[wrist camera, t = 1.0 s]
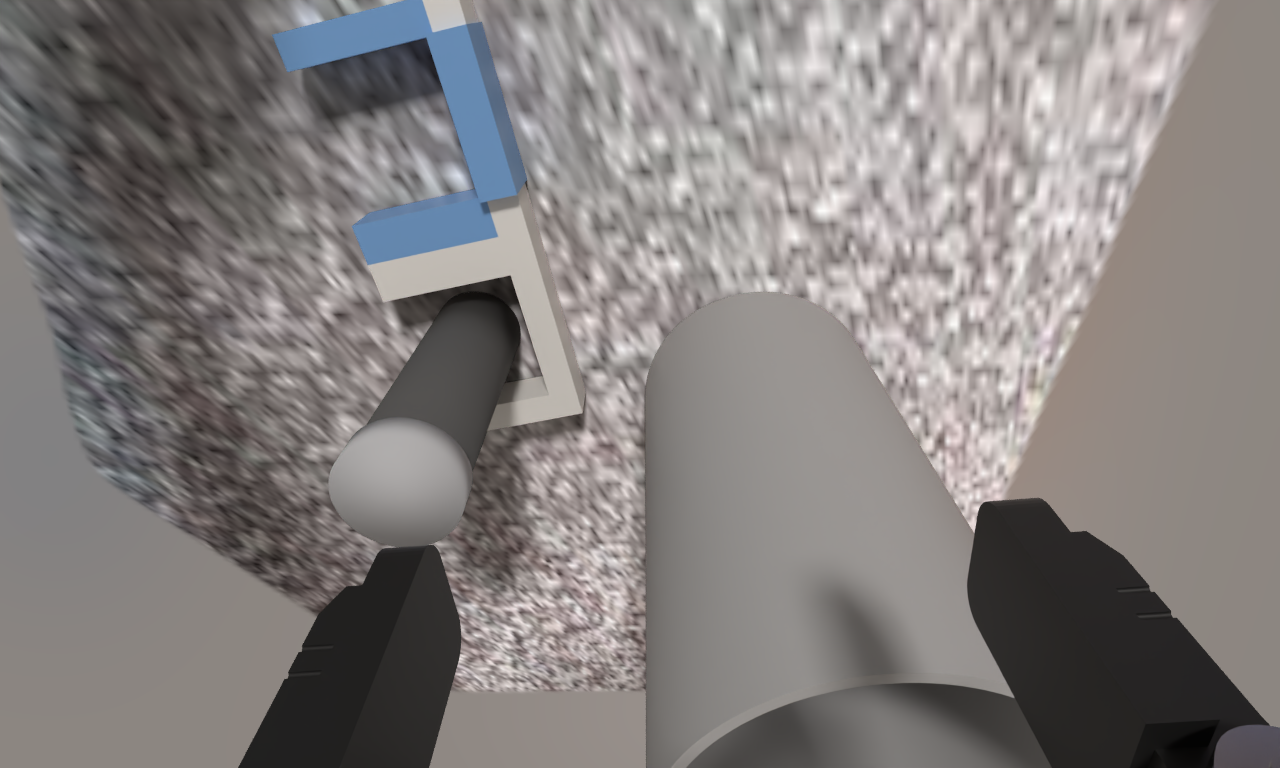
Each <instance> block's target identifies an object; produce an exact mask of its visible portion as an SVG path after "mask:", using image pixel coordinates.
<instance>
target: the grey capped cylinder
mask: <svg viewBox="0 0 1280 768" xmlns="http://www.w3.org/2000/svg"><path fill="white" fill-rule="evenodd" d="M519 342H520V326H519V322H518V319H517V317H516V315H515V314H514V312H513V311H512V309H511V308H510V307H509V306H508V305H507V304H506V303H505V302H503V301H502V300H500V299H499V298H497V297H495V296H493V295H490V294H487V293H483V292H466V293H462V294H459V295H457V296H455V297H453V298H452V299H450V300H449V301H448V302H447V303H446V304H445V305H444V307H443V308H442V310H441V311H440V313H439V314H438V316H437V317H436V319H435V320H434V322H433V323H432V325H431V327H430V328H429V330H428V331H427V333H426V334H425V336H424V337H423V339H422V340H421V342H420V343H419V345H418V346H417V348H416V350H415V351H414V353H413V354H412V356H411V357H410V359H409V360H408V362H407V363H406V365H405V366H404V368H403V370H402V371H401V373H400V374H399V376H398V377H397V379H396V380H395V382H394V383H393V385H392V386H391V388H390V389H389V391H388V393H387V394H386V396H385V397H384V399H383V400H382V402H381V403H380V405H379V406H378V408H377V409H376V411H375V412H374V414H373V416H372V417H371V419H370V420H369V422H368V423H367V425H366V426H364V427H362V428H361V429H360V430H359V431H357V432H356V433H355V434H354V435H353V437H352V438H351V439H350V441H349V442H348V444H347V445H346V447H345V448H344V450H343V451H342V453H341V454H340V456H339V457H338V459H337V460H336V462H335V463H334V465H333V467H332V469H331V472H330V476H329V484H328V487H329V494H330V497H331V501H332V503H333V505H334V507H335V509H336V511H337V512H338V514H339V515H340V516H341V518H342V519H343V520H344V521H345V522H346V523H347V524H348V525H349V526H350V527H352V528H353V529H354V530H355V531H357V532H358V533H360V534H361V535H363V536H365V537H367V538H369V539H371V540H373V541H376V542H378V543H382V544H385V545H389V546H395V547H410V546H423V545H429V544H432V543H435V542H437V541H439V540H441V539H443V538H444V537H446V536H447V535H449V534H450V533H451V532H452V531H453V530H454V529H455V527H456V526H457V525H458V523H459V521H460V520H461V517H462V514H463V512H464V509H465V506H466V503H467V500H468V497H469V495H470V492H471V489H472V483H473V473H472V471H473V469H474V466H475V463H476V460H477V458H478V455H479V452H480V449H481V447H482V444H483V441H484V438H485V436H486V433H487V430H488V427H489V425H490V422H491V419H492V416H493V414H494V411H495V408H496V405H497V403H498V400H499V397H500V394H501V392H502V389H503V386H504V383H505V381H506V378H507V375H508V372H509V370H510V367H511V364H512V361H513V359H514V356H515V353H516V350H517V348H518V345H519Z"/></svg>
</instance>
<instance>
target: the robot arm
mask: <svg viewBox="0 0 1280 768" xmlns="http://www.w3.org/2000/svg"><path fill="white" fill-rule="evenodd" d="M967 594H968V601H969V606H970V610H971V613H972V616H973V619H974V621H975V623H976V626H977V628H978V629H979V631H980V633H981V635H982V637H983V639H984V641H985V643H986V645H987V646H988V648H989V650H990V652H991V654H992V656H993V658H994V660H995V662H996V663H997V665H998V667H999V669H1000V671H1001V673H1002V675H1003V677H1004V679H1005V680H1006V682H1007V684H1008V686H1009V688H1010V690H1011V692H1012V694H1013V696H1014V697H1015V699H1016V701H1017V703H1018V705H1019V707H1020V709H1021V711H1022V713H1023V714H1024V716H1025V718H1026V720H1027V722H1028V724H1029V726H1030V728H1031V730H1032V731H1033V733H1034V735H1035V737H1036V739H1037V741H1038V743H1039V745H1040V747H1041V748H1042V750H1043V752H1044V754H1045V756H1046V758H1047V760H1048V762H1049V764H1050V765H1051V767H1052V768H1280V728H1278V727H1274V726H1270V725H1269V724H1268V723H1267V722H1266V721H1265V720H1264V719H1263V718H1262V717H1261V715H1260V714H1259V713H1258V712H1257V711H1256V710H1255V708H1254V707H1253V706H1252V705H1251V704H1250V703H1249V702H1248V700H1247V699H1246V698H1245V697H1244V696H1243V695H1242V693H1241V692H1240V691H1239V690H1238V689H1237V687H1236V686H1235V685H1234V684H1233V683H1232V682H1231V680H1230V679H1229V678H1228V677H1227V676H1226V675H1225V673H1224V672H1223V671H1222V670H1221V669H1220V668H1219V666H1218V665H1217V664H1216V663H1215V662H1214V661H1213V659H1212V658H1211V657H1210V656H1209V655H1208V654H1207V652H1206V651H1205V650H1204V649H1203V648H1202V647H1201V645H1200V644H1199V643H1198V642H1197V641H1196V640H1195V639H1194V637H1193V636H1192V635H1191V634H1190V633H1189V632H1188V630H1187V629H1186V628H1185V627H1184V626H1183V625H1182V623H1181V622H1180V621H1179V620H1178V619H1177V618H1173V617H1172V615H1171V610H1170V609H1169V608H1168V607H1167V606H1166V605H1165V604H1164V602H1163V601H1162V600H1161V599H1160V598H1159V597H1158V595H1157V594H1156V593H1155V592H1151V591H1150V589H1149V585H1148V584H1147V583H1146V581H1145V580H1144V579H1143V578H1142V577H1141V576H1140V574H1139V573H1138V572H1137V571H1136V570H1135V569H1134V567H1133V566H1132V565H1131V564H1130V563H1129V562H1128V560H1127V559H1126V558H1125V557H1124V556H1123V555H1122V554H1120V553H1119V552H1117V551H1116V550H1114V549H1113V548H1111V547H1109V546H1108V545H1106V544H1105V543H1103V542H1102V541H1100V540H1099V539H1097V538H1096V537H1094V536H1093V535H1091V534H1090V533H1088V532H1087V531H1082V532H1070V531H1069V529H1068V528H1067V527H1066V526H1065V525H1064V523H1063V522H1062V521H1061V519H1060V518H1059V517H1058V516H1057V514H1056V513H1055V512H1054V511H1053V509H1052V508H1051V507H1050V506H1049V505H1048V503H1047V502H1045V501H1044V500H1043V499H1040V498H1030V499H1015V500H1002V501H989V502H984V503H983V504H982V505H981V506H980V508H979V511H978V516H977V522H976V528H975V534H974V541H973V547H972V553H971V559H970V565H969V572H968V578H967ZM460 649H461V626H460V620H459V615H458V612H457V609H456V606H455V602H454V599H453V596H452V592H451V589H450V586H449V583H448V579H447V576H446V573H445V569H444V566H443V563H442V560H441V556H440V554H439V551H438V549H437V548H436V547H435V546H434V545H423V546H410V547H396V548H385V549H382V550H381V551H380V552H379V553H378V554H377V556H376V558H375V560H374V562H373V564H372V566H371V568H370V570H369V572H368V574H367V577H366V579H365V581H364V583H363V585H361V586H347V587H345V588H344V589H343V590H342V591H341V592H340V593H339V594H338V595H337V596H336V597H335V598H334V599H333V600H332V601H331V602H330V603H329V604H328V605H327V606H326V607H325V609H324V610H323V611H322V612H321V613H320V614H319V615H318V616H317V618H316V620H315V622H314V624H313V626H312V628H311V630H310V632H309V634H308V636H307V637H306V639H305V641H304V643H303V645H302V652H299V653H298V655H297V657H296V659H295V660H294V662H293V664H292V666H291V668H290V670H289V672H288V673H289V676H288V679H284V681H283V683H282V686H281V687H280V689H279V691H278V693H277V695H276V697H275V699H274V701H273V702H272V704H271V706H270V708H269V710H268V712H267V714H266V716H265V718H264V720H263V721H262V723H261V725H260V727H259V729H258V731H257V733H256V735H255V737H254V739H253V741H252V742H251V744H250V746H249V748H248V750H247V752H246V754H245V756H244V758H243V760H242V762H241V763H240V765H239V767H238V768H429V766H430V762H431V759H432V755H433V751H434V748H435V744H436V740H437V737H438V733H439V730H440V726H441V722H442V719H443V715H444V712H445V708H446V704H447V701H448V697H449V694H450V690H451V686H452V683H453V679H454V676H455V672H456V668H457V665H458V661H459V656H460Z"/></svg>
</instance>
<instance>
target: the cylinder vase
mask: <svg viewBox="0 0 1280 768" xmlns="http://www.w3.org/2000/svg"><path fill="white" fill-rule="evenodd" d="M645 508H646V768H1052V767H1051V765H1050V764H1049V762H1048V760H1047V758H1046V756H1045V754H1044V752H1043V750H1042V748H1041V747H1040V745H1039V743H1038V741H1037V739H1036V737H1035V735H1034V733H1033V731H1032V730H1031V728H1030V726H1029V724H1028V722H1027V720H1026V718H1025V716H1024V714H1023V713H1022V711H1021V709H1020V707H1019V705H1018V703H1017V701H1016V699H1015V697H1014V696H1013V694H1012V692H1011V690H1010V688H1009V686H1008V684H1007V682H1006V680H1005V679H1004V677H1003V675H1002V673H1001V671H1000V669H999V667H998V665H997V663H996V662H995V660H994V658H993V656H992V654H991V652H990V650H989V648H988V646H987V645H986V643H985V641H984V639H983V637H982V635H981V633H980V631H979V629H978V628H977V626H976V623H975V621H974V619H973V616H972V613H971V610H970V606H969V601H968V594H967V578H968V572H969V565H970V559H971V553H972V547H973V541H974V532H973V531H972V529H971V528H970V526H969V524H968V523H967V521H966V519H965V518H964V516H963V515H962V513H961V511H960V510H959V508H958V506H957V505H956V503H955V502H954V500H953V498H952V497H951V495H950V493H949V492H948V490H947V489H946V487H945V485H944V484H943V482H942V481H941V479H940V477H939V476H938V474H937V472H936V471H935V469H934V468H933V466H932V464H931V463H930V461H929V459H928V458H927V456H926V455H925V453H924V451H923V450H922V448H921V446H920V445H919V443H918V442H917V440H916V438H915V437H914V435H913V433H912V432H911V430H910V429H909V427H908V425H907V424H906V422H905V420H904V419H903V417H902V416H901V414H900V412H899V411H898V409H897V407H896V406H895V404H894V403H893V401H892V399H891V398H890V396H889V395H888V393H887V391H886V390H885V388H884V386H883V385H882V383H881V382H880V380H879V378H878V377H877V375H876V373H875V372H874V370H873V369H872V367H871V365H870V364H869V362H868V360H867V359H866V357H865V356H864V354H863V352H862V351H861V349H860V347H859V346H858V344H857V343H856V341H855V339H854V338H853V336H852V335H851V333H850V332H849V331H848V330H847V328H846V327H845V326H844V325H843V324H842V323H841V322H840V321H839V320H838V319H837V318H836V317H835V316H833V315H832V314H831V313H829V312H828V311H827V310H825V309H823V308H822V307H820V306H818V305H816V304H814V303H812V302H810V301H808V300H805V299H802V298H800V297H796V296H793V295H788V294H783V293H776V292H750V293H743V294H738V295H733V296H729V297H726V298H723V299H720V300H717V301H715V302H712V303H710V304H708V305H706V306H704V307H702V308H700V309H699V310H697V311H695V312H694V313H692V314H691V315H689V316H688V317H687V318H685V319H684V320H683V321H682V322H681V323H680V324H678V325H677V326H676V327H675V328H674V329H673V330H672V332H671V333H670V334H669V335H668V336H667V337H666V339H665V340H664V341H663V343H662V344H661V346H660V348H659V349H658V351H657V353H656V355H655V357H654V359H653V361H652V364H651V366H650V369H649V373H648V377H647V382H646V391H645Z"/></svg>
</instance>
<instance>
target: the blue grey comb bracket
mask: <svg viewBox="0 0 1280 768" xmlns="http://www.w3.org/2000/svg"><path fill="white" fill-rule="evenodd" d="M272 36H273V38H274V41H275V43H276V46H277V48H278V50H279V53H280V55H281V58H282V60H283V62H284V65H285V67H286V70H287V72H291V71H295V70H300V69H305V68H310V67H314V66H318V65H322V64H326V63H330V62H334V61H338V60H342V59H346V58H350V57H354V56H358V55H362V54H366V53H370V52H374V51H378V50H382V49H386V48H390V47H394V46H398V45H402V44H406V43H410V42H414V41H418V40H422V39H427V42H428V45H429V48H430V51H431V54H432V57H433V60H434V63H435V66H436V69H437V72H438V75H439V79H440V82H441V85H442V88H443V91H444V94H445V97H446V100H447V103H448V106H449V109H450V112H451V115H452V119H453V122H454V125H455V128H456V131H457V134H458V137H459V140H460V143H461V146H462V149H463V152H464V155H465V158H466V162H467V165H468V168H469V171H470V174H471V177H472V180H473V183H474V186H475V189H472V190H468V191H463V192H459V193H454V194H450V195H446V196H441V197H437V198H432V199H428V200H423V201H419V202H415V203H410V204H406V205H401V206H397V207H392V208H388V209H383V210H379V211H375V212H370V213H368V214H367V215H366V216H365V217H363V218H362V219H361V220H359V221H358V222H357V223H356V224H354V225H353V226H352V228H353V230H354V233H355V235H356V237H357V240H358V242H359V245H360V247H361V249H362V252H363V254H364V257H365V259H366V261H367V264H368V266H369V269H370V271H371V273H372V276H373V278H374V281H375V283H376V285H377V288H378V290H379V293H380V295H381V297H382V300H383V302H386V301H391V300H396V299H400V298H405V297H410V296H415V295H419V294H424V293H429V292H434V291H438V290H443V289H448V288H453V287H457V286H462V285H467V284H472V283H476V282H481V281H486V280H491V279H495V278H500V277H505V276H510V275H511V278H512V281H513V284H514V288H515V291H516V294H517V297H518V300H519V303H520V306H521V309H522V313H523V316H524V319H525V322H526V325H527V328H528V331H529V334H530V338H531V341H532V344H533V347H534V350H535V353H536V356H537V359H538V362H539V366H540V369H541V372H542V375H543V376H540V377H535V378H530V379H524V380H519V381H514V382H509V383H504V386H503V389H502V392H501V394H500V397H499V400H498V403H497V405H496V408H495V411H494V414H493V416H492V419H491V422H490V425H489V427H488V430H487V431H490V430H496V429H501V428H506V427H512V426H517V425H522V424H528V423H533V422H538V421H544V420H549V419H555V418H560V417H565V416H571V415H576V414H581V413H583V407H584V400H585V394H586V390H585V387H584V383H583V380H582V376H581V373H580V370H579V366H578V363H577V359H576V356H575V352H574V349H573V345H572V342H571V339H570V335H569V332H568V328H567V325H566V321H565V318H564V315H563V311H562V308H561V304H560V301H559V297H558V294H557V291H556V287H555V284H554V280H553V277H552V273H551V270H550V266H549V263H548V260H547V256H546V253H545V249H544V246H543V242H542V239H541V236H540V232H539V229H538V225H537V222H536V218H535V215H534V212H533V208H532V205H531V201H530V198H529V194H528V191H527V188H526V184H525V182H526V180H527V177H526V174H525V170H524V167H523V163H522V160H521V156H520V153H519V149H518V146H517V142H516V139H515V136H514V132H513V129H512V125H511V122H510V118H509V115H508V111H507V108H506V104H505V101H504V97H503V94H502V91H501V87H500V84H499V80H498V77H497V73H496V70H495V66H494V63H493V59H492V56H491V53H490V49H489V46H488V42H487V39H486V35H485V32H484V28H483V25H482V22H478V19H477V16H476V12H475V9H474V6H473V2H472V0H405V1H401V2H397V3H393V4H390V5H386V6H382V7H378V8H374V9H370V10H366V11H362V12H359V13H355V14H351V15H347V16H343V17H339V18H335V19H331V20H327V21H324V22H320V23H316V24H312V25H308V26H304V27H300V28H296V29H293V30H289V31H285V32H281V33H277V34H273V35H272Z"/></svg>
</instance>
